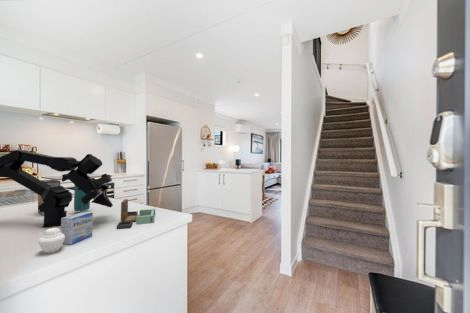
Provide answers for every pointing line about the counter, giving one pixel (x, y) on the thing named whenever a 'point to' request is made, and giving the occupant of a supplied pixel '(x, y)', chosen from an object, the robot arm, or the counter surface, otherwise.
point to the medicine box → (77, 227)
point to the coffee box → (53, 184)
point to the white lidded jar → (51, 240)
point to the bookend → (125, 212)
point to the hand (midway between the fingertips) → (111, 206)
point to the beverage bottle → (79, 200)
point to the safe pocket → (146, 218)
